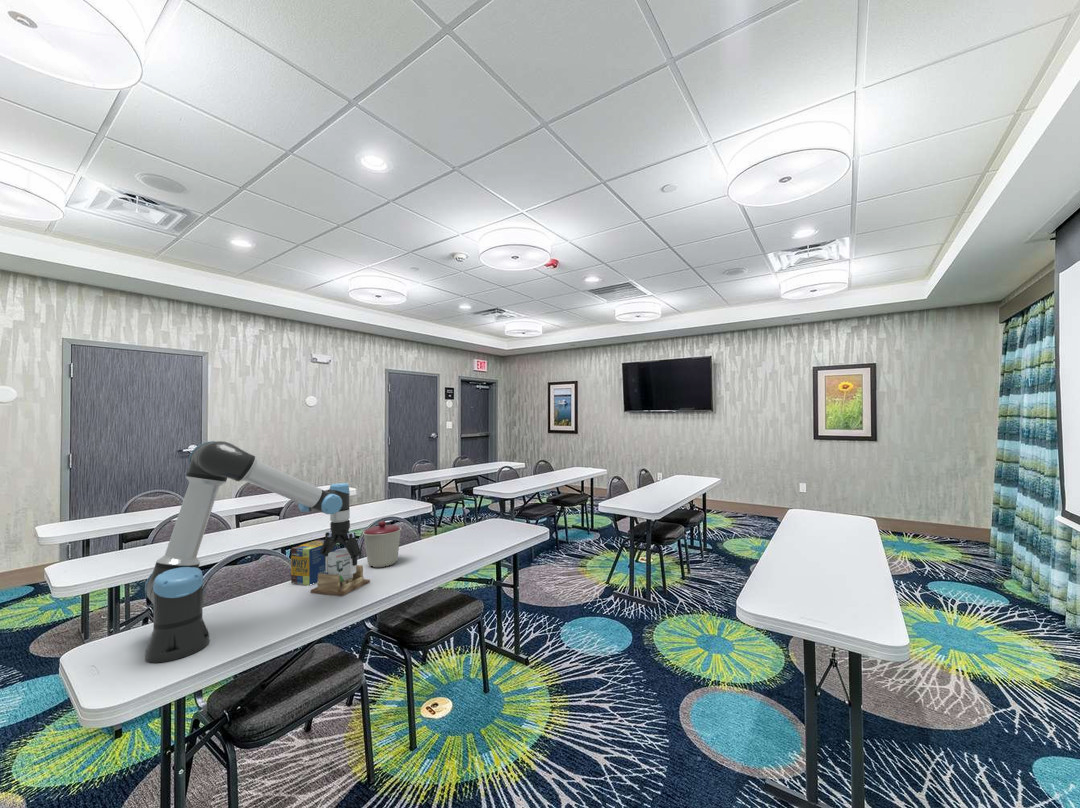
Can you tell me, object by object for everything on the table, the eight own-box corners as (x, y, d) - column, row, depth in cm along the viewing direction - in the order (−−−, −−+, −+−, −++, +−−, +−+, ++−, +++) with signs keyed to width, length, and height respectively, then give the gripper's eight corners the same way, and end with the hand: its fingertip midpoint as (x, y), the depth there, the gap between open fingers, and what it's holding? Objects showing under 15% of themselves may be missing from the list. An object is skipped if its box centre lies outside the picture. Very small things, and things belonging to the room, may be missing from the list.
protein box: (290, 584, 191) (290, 548, 192) (318, 572, 205) (318, 539, 206) (309, 586, 188) (308, 549, 188) (336, 574, 202) (336, 540, 203)
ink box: (333, 583, 179) (333, 554, 180) (327, 581, 182) (327, 552, 183) (353, 577, 186) (353, 549, 187) (347, 575, 189) (346, 547, 190)
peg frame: (341, 596, 174) (341, 577, 174) (310, 592, 179) (310, 574, 179) (370, 582, 189) (369, 565, 189) (340, 579, 194) (340, 563, 194)
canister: (383, 557, 226) (382, 516, 228) (410, 560, 219) (409, 518, 220) (354, 568, 210) (353, 523, 211) (382, 572, 202) (381, 525, 204)
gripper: (369, 519, 185) (370, 571, 184) (324, 517, 193) (325, 567, 192) (356, 523, 178) (357, 577, 177) (310, 521, 186) (311, 573, 185)
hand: (340, 572), depth 184 cm, fingers open, 12 cm apart
